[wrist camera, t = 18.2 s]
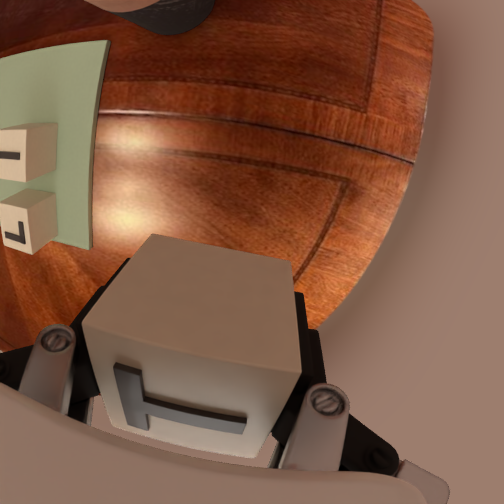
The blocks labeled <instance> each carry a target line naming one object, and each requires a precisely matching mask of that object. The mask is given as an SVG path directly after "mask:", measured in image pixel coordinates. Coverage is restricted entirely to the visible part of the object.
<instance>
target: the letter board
mask: <svg viewBox="0 0 504 504" xmlns="http://www.w3.org/2000/svg"><path fill="white" fill-rule="evenodd" d="M110 44H111V41H109V40H100V41H89V42H80V43H73V44H66V45H59V46H53V47H48V48H42V49H37V50H33V51H28V52H24V53H20V54H16V55H12V56H8V57H4V58H1V59H0V129H2V128H7V127H11V126H16V125H21V124H26V123H58V132H57V148H56V170H54V171H52V172H49V173H47V174H44V175H42V176H39V177H37V178H35V179H32V180H30V181H28V182H20V181H13V180H6V179H0V201H2V200H4V199H6V198H8V197H10V196H12V195H14V194H16V193H18V192H20V191H22V190H24V189H26V188H28V189H33V190H39V191H45V192H51V193H56V213H57V229H58V235H57V236H56V237H55V238H53V239H52V240H53V241H57V242H61V243H64V244H68V245H72V246H76V247H79V248H83V249H87V250H90V249H91V248H92V247H93V244H92V175H93V158H94V144H95V134H96V124H97V116H98V108H99V101H100V95H101V88H102V83H103V77H104V72H105V66H106V62H107V57H108V52H109V48H110ZM0 225H1V222H0Z"/></svg>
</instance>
